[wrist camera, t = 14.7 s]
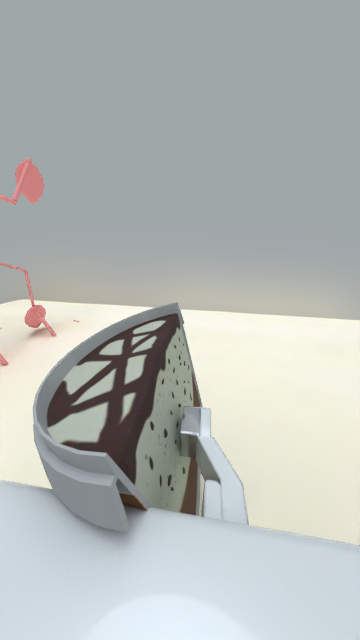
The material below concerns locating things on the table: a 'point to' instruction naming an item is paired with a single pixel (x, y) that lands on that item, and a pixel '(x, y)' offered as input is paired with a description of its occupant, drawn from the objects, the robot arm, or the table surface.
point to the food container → (121, 421)
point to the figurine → (32, 190)
